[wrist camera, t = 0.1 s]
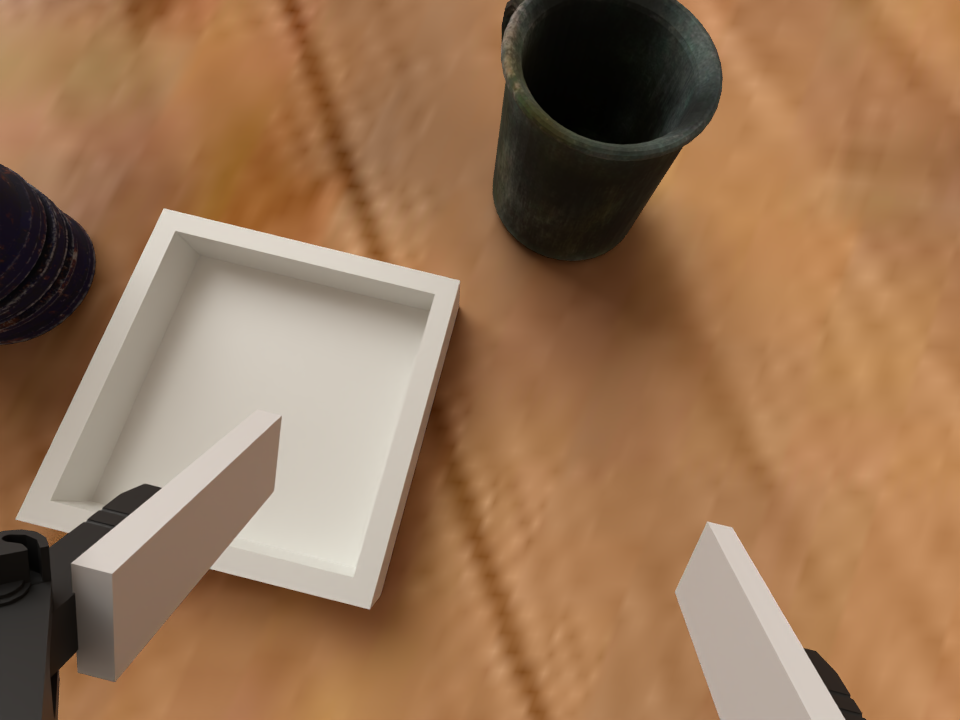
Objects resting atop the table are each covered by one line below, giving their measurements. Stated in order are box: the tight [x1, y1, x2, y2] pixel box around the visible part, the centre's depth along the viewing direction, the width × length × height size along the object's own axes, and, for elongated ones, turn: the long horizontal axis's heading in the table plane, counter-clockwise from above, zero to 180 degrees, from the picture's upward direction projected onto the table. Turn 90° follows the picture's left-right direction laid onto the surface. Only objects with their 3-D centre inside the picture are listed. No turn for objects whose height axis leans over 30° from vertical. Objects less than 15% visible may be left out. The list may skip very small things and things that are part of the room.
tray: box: [16, 209, 460, 609], centre depth 29 cm, size 18×18×4 cm
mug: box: [493, 0, 723, 261], centre depth 31 cm, size 11×15×12 cm
